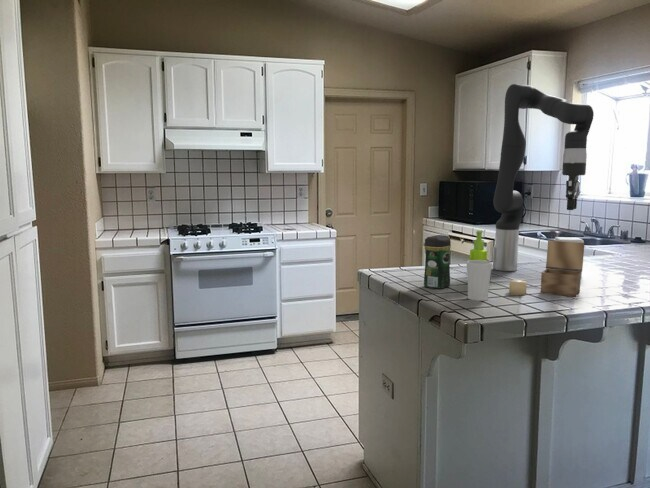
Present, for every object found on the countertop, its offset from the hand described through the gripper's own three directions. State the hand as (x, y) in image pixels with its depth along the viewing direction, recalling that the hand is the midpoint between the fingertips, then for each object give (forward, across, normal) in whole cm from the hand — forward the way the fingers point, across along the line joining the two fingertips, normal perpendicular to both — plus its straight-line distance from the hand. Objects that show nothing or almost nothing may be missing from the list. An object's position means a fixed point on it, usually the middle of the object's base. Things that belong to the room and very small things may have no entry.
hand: (571, 209), depth 191 cm
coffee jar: (+28, +28, -39) cm, 56 cm away
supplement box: (+28, -20, -3) cm, 34 cm away
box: (+28, +14, 0) cm, 31 cm away
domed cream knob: (+28, +23, -12) cm, 38 cm away
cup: (+28, +38, -21) cm, 52 cm away
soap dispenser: (+28, +19, -27) cm, 43 cm away
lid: (+16, +9, 0) cm, 18 cm away
